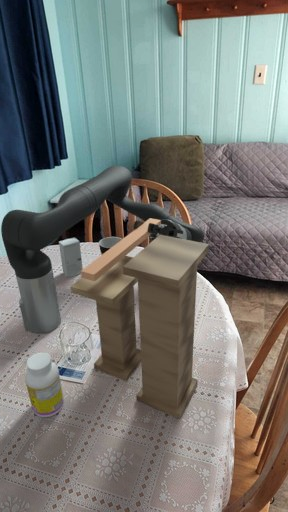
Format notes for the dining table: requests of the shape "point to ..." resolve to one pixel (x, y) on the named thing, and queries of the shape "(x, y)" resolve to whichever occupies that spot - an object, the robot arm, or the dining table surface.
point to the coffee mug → (108, 243)
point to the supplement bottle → (44, 385)
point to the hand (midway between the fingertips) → (142, 226)
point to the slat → (117, 252)
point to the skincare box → (71, 256)
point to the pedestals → (150, 320)
